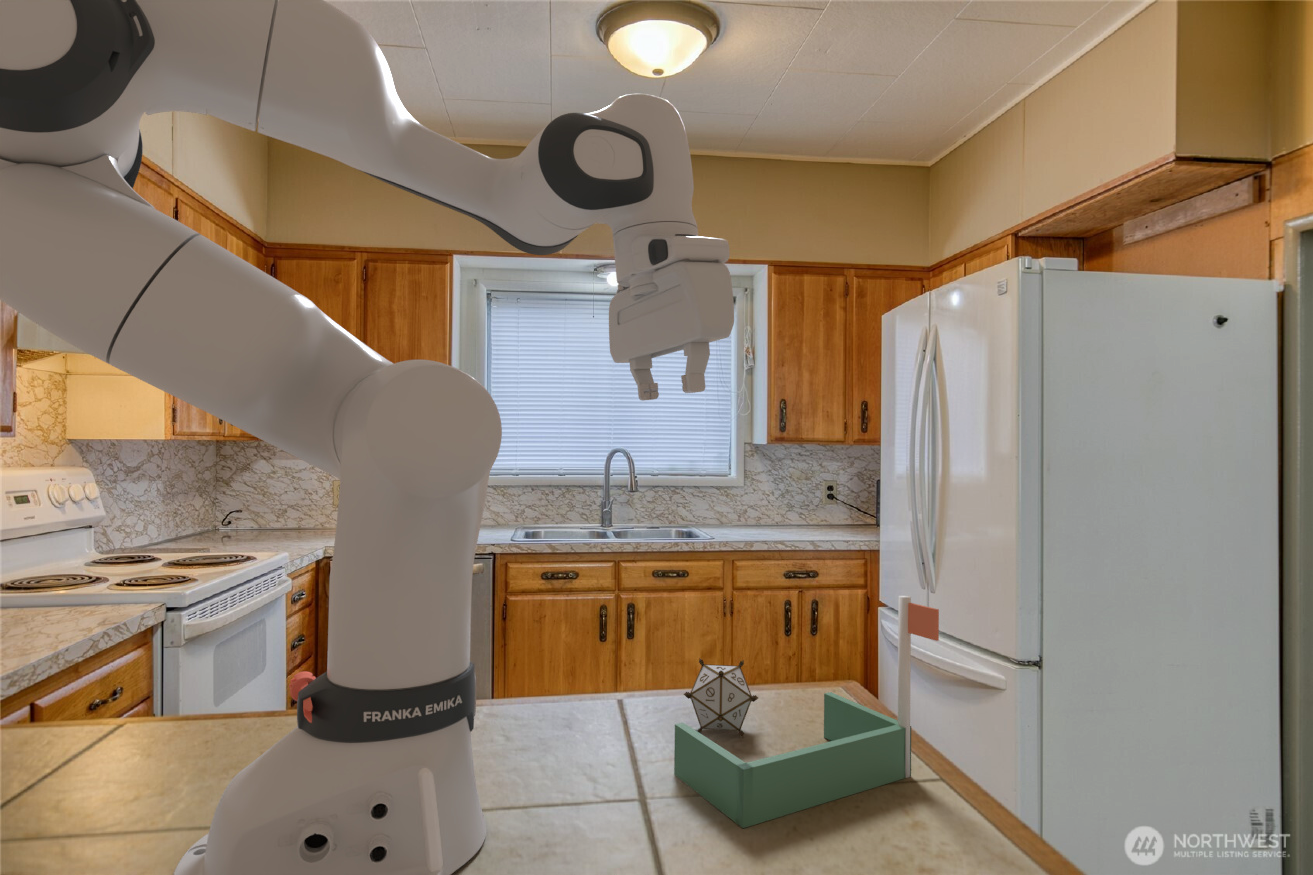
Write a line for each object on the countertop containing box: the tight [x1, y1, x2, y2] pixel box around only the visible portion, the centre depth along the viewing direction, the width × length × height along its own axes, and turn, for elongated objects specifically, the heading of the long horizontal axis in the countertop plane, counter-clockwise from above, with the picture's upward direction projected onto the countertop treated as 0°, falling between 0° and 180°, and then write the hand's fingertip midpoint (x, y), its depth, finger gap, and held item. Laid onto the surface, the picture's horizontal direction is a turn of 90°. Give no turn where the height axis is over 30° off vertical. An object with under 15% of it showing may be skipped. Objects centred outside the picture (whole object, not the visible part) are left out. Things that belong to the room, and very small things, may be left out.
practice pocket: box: [673, 595, 940, 829], centre depth 69 cm, size 21×15×18 cm
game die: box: [683, 657, 759, 738], centre depth 82 cm, size 9×8×10 cm
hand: (670, 396), depth 73 cm, fingers open, 8 cm apart
